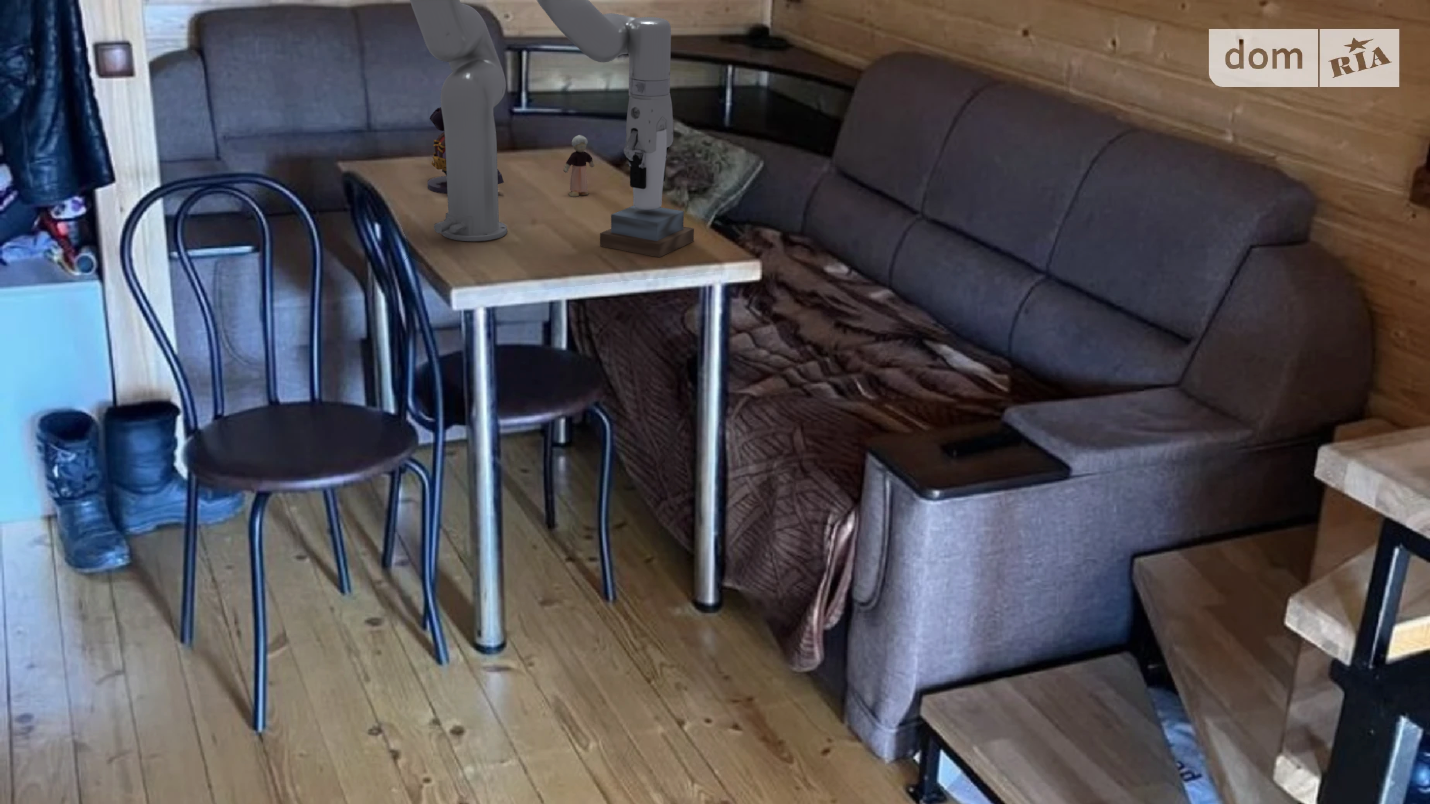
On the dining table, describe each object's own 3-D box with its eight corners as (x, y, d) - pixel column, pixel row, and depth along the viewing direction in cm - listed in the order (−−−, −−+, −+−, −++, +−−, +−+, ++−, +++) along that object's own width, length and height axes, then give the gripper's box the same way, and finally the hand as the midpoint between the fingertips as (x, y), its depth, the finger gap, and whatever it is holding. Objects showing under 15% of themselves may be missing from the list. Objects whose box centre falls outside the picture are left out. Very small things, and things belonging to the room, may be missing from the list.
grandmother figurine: (574, 199, 303) (574, 139, 298) (561, 195, 305) (560, 136, 300) (598, 192, 308) (599, 133, 304) (585, 189, 311) (585, 131, 306)
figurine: (506, 195, 303) (504, 117, 297) (442, 201, 298) (439, 121, 291) (478, 174, 320) (475, 99, 314) (417, 179, 314) (413, 102, 308)
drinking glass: (646, 200, 275) (647, 122, 270) (672, 207, 272) (674, 128, 266) (622, 207, 271) (622, 127, 265) (648, 214, 267) (650, 133, 261)
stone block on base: (659, 257, 266) (660, 225, 263) (600, 245, 271) (600, 215, 269) (693, 241, 276) (694, 210, 274) (635, 230, 282) (636, 200, 280)
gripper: (642, 97, 254) (641, 196, 261) (690, 83, 268) (687, 178, 275) (606, 92, 257) (606, 190, 264) (655, 78, 271) (654, 172, 278)
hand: (647, 183), depth 269 cm, fingers closed on drinking glass, 6 cm apart
